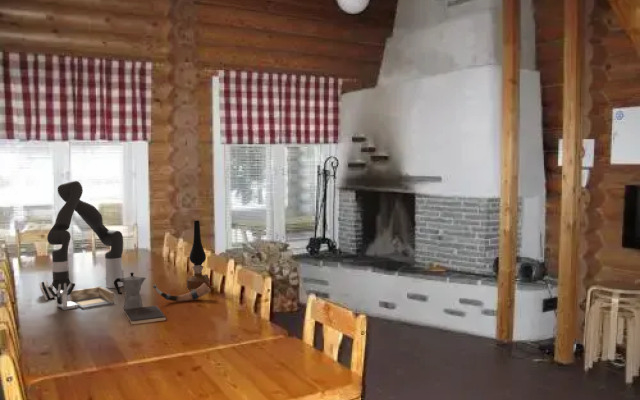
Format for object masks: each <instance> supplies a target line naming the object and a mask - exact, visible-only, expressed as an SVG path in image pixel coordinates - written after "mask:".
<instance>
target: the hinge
mask: <svg viewBox="0 0 640 400" xmlns="http://www.w3.org/2000/svg"><path fill="white" fill-rule="evenodd" d="M48 286H50V284H49V281H48V280H43V281H41V282H39V288H40V291H41V293H42V295H43V298H44V300H45V301H48V300H49V299H53V298H54V300H57V297H54V296H53V295H52V294H51V293H50V291H49V290H48V288H47V287H48ZM52 290H53V291H54V293H55V294H56V290H55V289H52Z"/></svg>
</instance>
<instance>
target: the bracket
mask: <svg viewBox="0 0 640 400" xmlns="http://www.w3.org/2000/svg"><path fill="white" fill-rule="evenodd" d="M60 297H61V304H60V305H59V304H58V303H57V302H56V304H57V307H58V308H59V309H61V310H63V311H64V310H65V311H66V310H72V309H78V308H79V307H78V304H76V303H74V302H72V301H69V300H68V295H67V293H65V292H63V290H61V293H60Z"/></svg>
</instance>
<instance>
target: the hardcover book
mask: <svg viewBox="0 0 640 400" xmlns="http://www.w3.org/2000/svg"><path fill="white" fill-rule="evenodd" d="M158 306H159V305H150V306H149V305H148V306H142V307H139V308H131V309H124V308H123V309H124V313H125V315H126V316H127V319H128V321H130V324H131V325H137V324H138V325H139V324H145V323H147V324H148V323H153V322H160V321H162V322H163V321H167V316H166V315H165V314H164V312H163V311H162V310H161V309H160V307H158Z"/></svg>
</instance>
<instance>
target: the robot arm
mask: <svg viewBox="0 0 640 400" xmlns="http://www.w3.org/2000/svg"><path fill="white" fill-rule="evenodd" d="M57 193H58V196H59V197H60V198H61V200H63V201H64V202H65V203H64V205H63V206H62V207H61V208H60V209H59V211H58V213H57V215H56V219H55V222H54V224H53V225H52V227H51V228H50V230H49V232H48V233H47V237H46V240H47V242H48V244H50V245H52V246H54V245H55V246H57V245H58V246H59V245H61V248H57V249H53V250H52V253H51V256H52V257H51V258H52V267H51V270H52V282H51V284H49V286H48V287H47V288H48V290H49V291H50V293H51V294H52V295H53V296H54V297H56V304H57V303H58V304H59V305H60V304H61V297H60V293H61V291H63V292H65V293H67V296H70V294H71V292H72V291H73V290H74V288H75V286H76V283H74V282H72V281H70V270H69V268H70V267H69V259H68V252H69V251H68V250H69V246H70V243H71V238H72V237H71V233H70V231H68V230H69V229H70V226H71V224H72V223H71V222H72V218H73V215H74V213H75V212H76V213H77V214H78V215H79V216H80V218H81V219H82V221H84V223H86V224H87V226H89V228H90V229H91V230H92V231H93V232H94V233H95V235H96V236H97V237H98V238H99V240H100V242H101V243H102V244H103V245H105V246H107V247H110V250H109V251H107V252H106V253H105V254H104V261H105V262H104V263H105V265H104V266H105V287H106V289H107V288H109V289H114V288H115V289H116V287H115V285H114V281H115V280H116V279H117V278H125V277H124V276H125V275H124V274H125V273H124V272H125V271H124V269H123V258H122V257H123V251H124V249H123V248H124V237H123V233H122V231H120V230H113V229H112V230H111V229H109V228H108V227H106V226H105V225H104V222H103V221H104V220H103V219H104V218H103V215H102V213H101V212H100V211H99V210H98V209H97V207H95V206H94V205H93V204H90V203H89V202H86V201H83V200H81V198H82V195H83V185H82V184H81V183H80V182H79V181H78V180H73V181H68V182H64V183H61V184H60V185H58V187H57ZM117 283H118V287H119V288H120V287H121V288H122V287H124V285H123V282H117ZM68 287H69V288H68ZM67 288H68V289H67ZM53 290H54V291H55V293H54V291H53ZM54 297H53V298H54Z"/></svg>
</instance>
